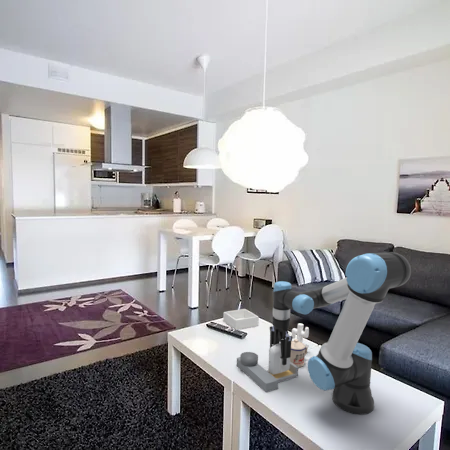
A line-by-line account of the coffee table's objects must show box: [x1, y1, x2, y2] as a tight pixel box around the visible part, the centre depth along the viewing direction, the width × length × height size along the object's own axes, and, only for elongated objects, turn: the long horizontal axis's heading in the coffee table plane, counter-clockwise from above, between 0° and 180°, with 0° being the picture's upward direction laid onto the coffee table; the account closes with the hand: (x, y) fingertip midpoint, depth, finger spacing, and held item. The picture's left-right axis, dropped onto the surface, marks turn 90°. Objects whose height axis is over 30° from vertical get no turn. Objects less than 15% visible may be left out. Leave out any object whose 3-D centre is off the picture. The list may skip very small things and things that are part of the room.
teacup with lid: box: [290, 338, 308, 368], centre depth 160 cm, size 12×9×12 cm
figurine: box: [291, 323, 310, 350], centre depth 170 cm, size 7×9×15 cm
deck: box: [236, 351, 299, 393], centre depth 150 cm, size 24×21×7 cm
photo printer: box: [267, 343, 290, 375], centre depth 147 cm, size 10×4×12 cm, turn 119°
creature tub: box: [222, 308, 260, 331], centre depth 207 cm, size 16×16×6 cm
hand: (279, 368), depth 147 cm, fingers closed on photo printer, 4 cm apart
